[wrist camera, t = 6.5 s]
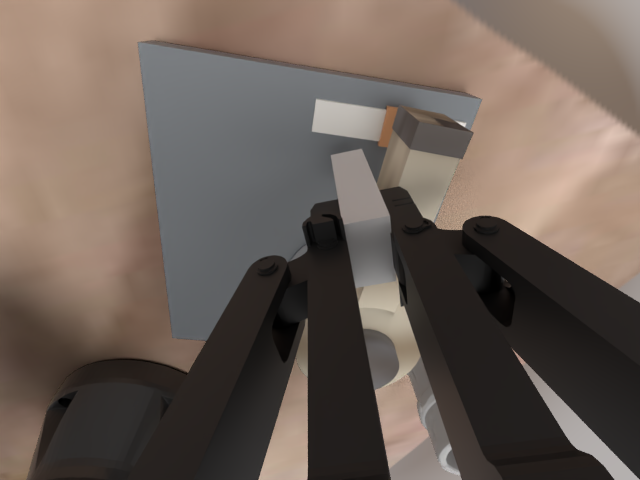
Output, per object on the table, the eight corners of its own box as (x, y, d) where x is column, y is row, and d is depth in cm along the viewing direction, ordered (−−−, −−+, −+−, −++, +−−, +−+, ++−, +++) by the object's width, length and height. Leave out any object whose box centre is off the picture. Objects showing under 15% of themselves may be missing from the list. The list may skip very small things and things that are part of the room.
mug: (464, 289, 27) (559, 446, 17) (504, 366, 33) (593, 520, 22) (379, 326, 29) (419, 487, 19) (430, 394, 35) (482, 546, 24)
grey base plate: (380, 335, 29) (385, 359, 27) (180, 319, 28) (170, 343, 26) (466, 93, 19) (486, 101, 17) (154, 40, 17) (133, 42, 15)
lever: (381, 327, 26) (403, 412, 20) (291, 317, 25) (286, 402, 19) (470, 112, 17) (550, 152, 12) (338, 84, 16) (355, 114, 11)
